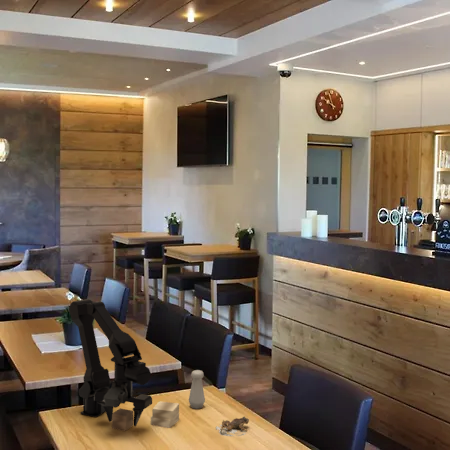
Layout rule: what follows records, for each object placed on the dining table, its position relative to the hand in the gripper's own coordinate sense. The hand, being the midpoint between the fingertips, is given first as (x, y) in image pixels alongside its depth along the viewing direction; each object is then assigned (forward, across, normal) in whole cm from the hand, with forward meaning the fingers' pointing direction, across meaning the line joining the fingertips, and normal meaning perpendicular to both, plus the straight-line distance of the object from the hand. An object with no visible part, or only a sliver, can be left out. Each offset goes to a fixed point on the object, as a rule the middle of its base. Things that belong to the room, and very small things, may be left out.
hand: (122, 423), depth 199 cm
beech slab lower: (+2, +11, +9) cm, 14 cm away
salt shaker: (+1, +15, +26) cm, 30 cm away
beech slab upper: (-2, +11, +9) cm, 14 cm away
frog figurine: (+2, +33, +14) cm, 36 cm away
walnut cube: (+1, 0, 0) cm, 1 cm away
